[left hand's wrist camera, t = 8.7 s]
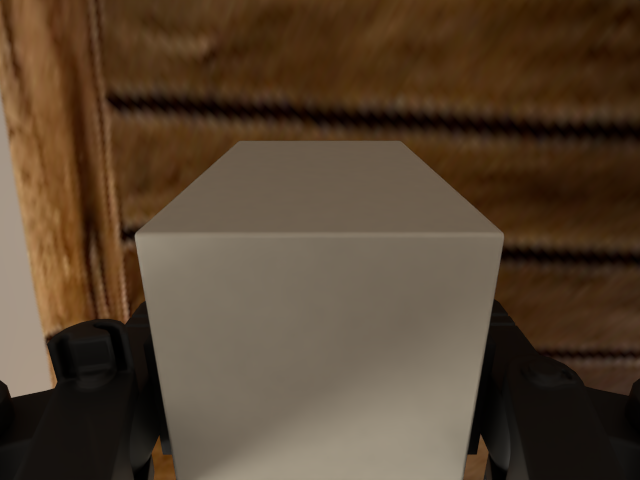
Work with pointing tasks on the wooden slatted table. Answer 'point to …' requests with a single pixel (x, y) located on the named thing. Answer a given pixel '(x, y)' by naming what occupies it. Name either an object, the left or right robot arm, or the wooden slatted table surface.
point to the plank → (319, 314)
